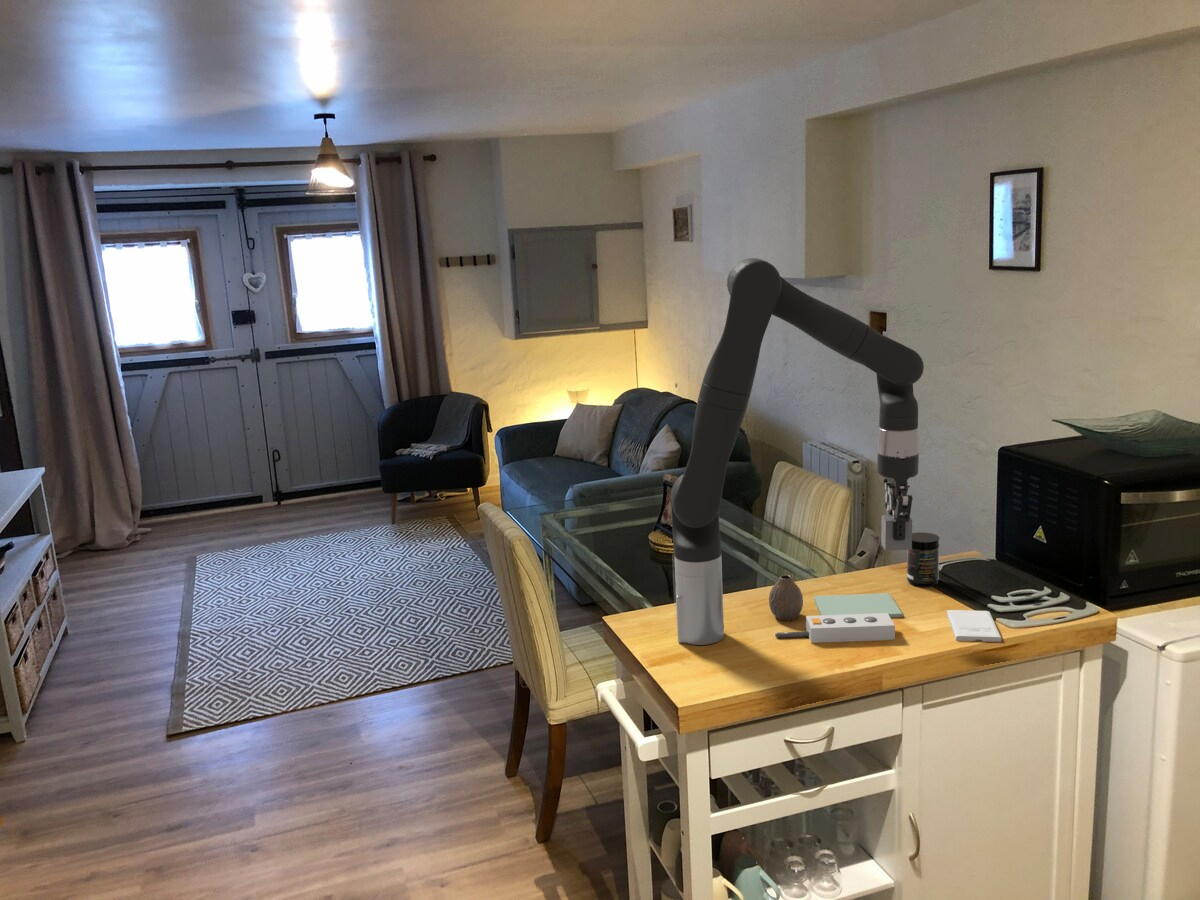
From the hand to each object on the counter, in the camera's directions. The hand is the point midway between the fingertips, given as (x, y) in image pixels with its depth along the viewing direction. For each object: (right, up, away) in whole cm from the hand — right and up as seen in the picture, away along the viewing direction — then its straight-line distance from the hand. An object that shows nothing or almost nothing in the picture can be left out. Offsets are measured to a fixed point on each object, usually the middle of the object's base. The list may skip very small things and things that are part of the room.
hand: (896, 536), depth 192 cm
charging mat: (-4, -16, +14) cm, 22 cm away
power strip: (-12, -20, +2) cm, 23 cm away
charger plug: (0, -2, +1) cm, 2 cm away
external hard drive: (+16, -19, +2) cm, 25 cm away
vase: (-19, -18, +12) cm, 29 cm away
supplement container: (+14, -13, +26) cm, 32 cm away
